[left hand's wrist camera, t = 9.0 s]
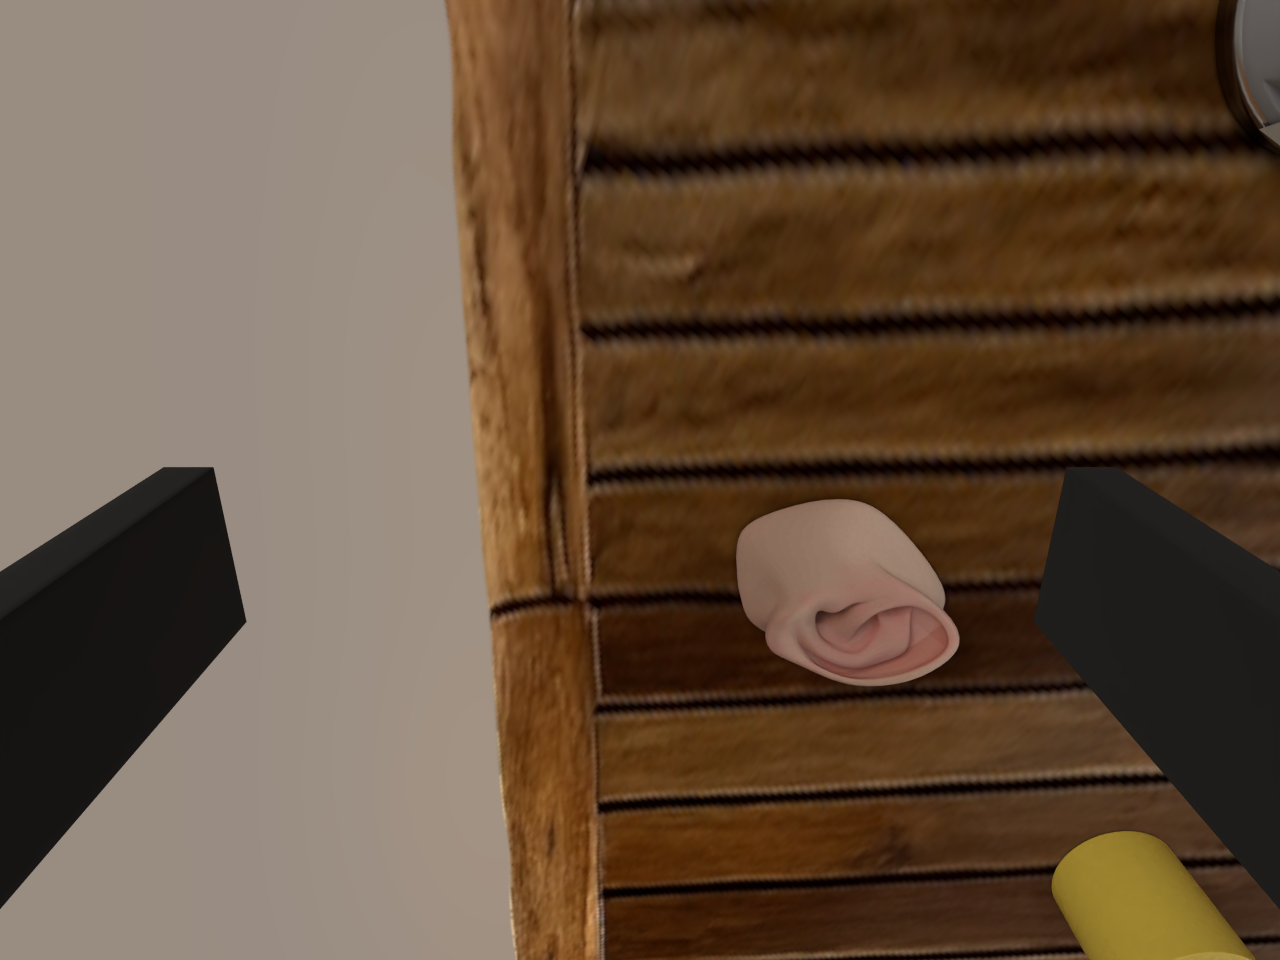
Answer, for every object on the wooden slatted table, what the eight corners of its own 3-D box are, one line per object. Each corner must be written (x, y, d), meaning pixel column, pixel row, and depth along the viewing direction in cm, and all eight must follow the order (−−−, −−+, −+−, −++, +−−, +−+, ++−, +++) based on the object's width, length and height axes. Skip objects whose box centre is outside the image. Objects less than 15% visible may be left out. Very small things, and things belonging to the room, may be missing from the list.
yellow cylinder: (1192, 834, 58) (1293, 956, 49) (1153, 923, 61) (1241, 1054, 52) (1070, 827, 58) (1149, 948, 49) (1037, 917, 61) (1105, 1047, 52)
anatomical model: (707, 579, 45) (889, 480, 43) (702, 548, 49) (869, 455, 47) (814, 738, 50) (986, 655, 47) (802, 698, 53) (961, 619, 51)
